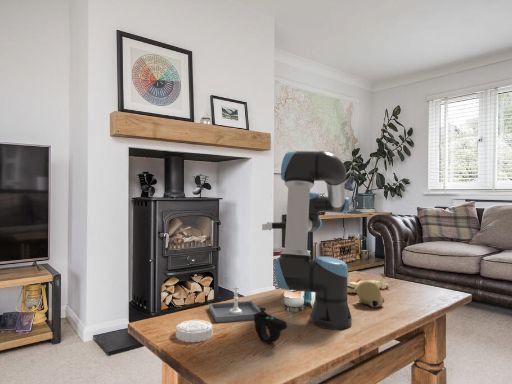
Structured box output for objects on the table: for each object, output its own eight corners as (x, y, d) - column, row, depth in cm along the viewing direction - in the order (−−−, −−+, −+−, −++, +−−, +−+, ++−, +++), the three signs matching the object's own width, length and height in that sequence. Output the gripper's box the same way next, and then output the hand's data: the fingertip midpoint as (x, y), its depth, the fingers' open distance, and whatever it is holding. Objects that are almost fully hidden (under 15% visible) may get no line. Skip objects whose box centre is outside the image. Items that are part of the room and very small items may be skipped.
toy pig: (363, 315, 154) (379, 303, 148) (348, 289, 160) (363, 277, 154) (377, 310, 160) (393, 298, 154) (362, 286, 166) (377, 273, 160)
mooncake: (205, 344, 113) (205, 333, 113) (169, 340, 116) (169, 329, 116) (217, 330, 125) (217, 320, 125) (184, 327, 127) (184, 316, 127)
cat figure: (376, 288, 190) (339, 289, 178) (377, 271, 191) (341, 271, 178) (391, 293, 182) (354, 295, 169) (393, 275, 182) (356, 276, 170)
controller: (260, 335, 121) (261, 305, 121) (288, 347, 112) (289, 314, 112) (251, 338, 118) (251, 307, 118) (279, 351, 109) (279, 317, 109)
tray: (263, 318, 137) (263, 313, 137) (216, 322, 132) (216, 317, 132) (251, 305, 152) (251, 300, 152) (208, 308, 147) (208, 303, 147)
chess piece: (243, 313, 140) (244, 287, 140) (231, 315, 139) (231, 288, 139) (240, 309, 145) (240, 284, 145) (227, 310, 143) (228, 285, 143)
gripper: (324, 235, 166) (301, 239, 149) (278, 230, 181) (252, 234, 164) (325, 218, 166) (301, 221, 149) (279, 215, 181) (252, 217, 164)
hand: (275, 228), depth 156 cm, fingers open, 13 cm apart
